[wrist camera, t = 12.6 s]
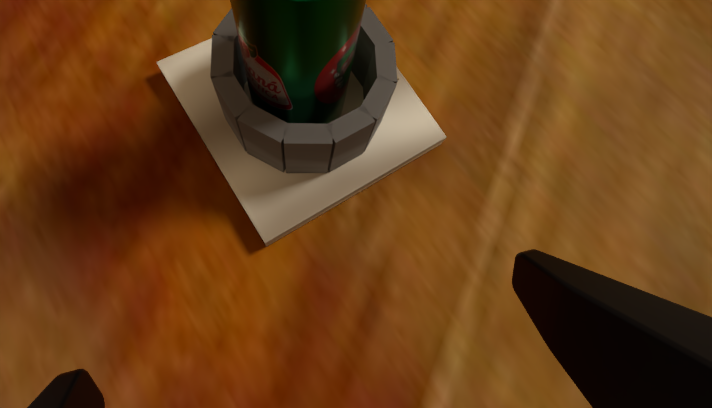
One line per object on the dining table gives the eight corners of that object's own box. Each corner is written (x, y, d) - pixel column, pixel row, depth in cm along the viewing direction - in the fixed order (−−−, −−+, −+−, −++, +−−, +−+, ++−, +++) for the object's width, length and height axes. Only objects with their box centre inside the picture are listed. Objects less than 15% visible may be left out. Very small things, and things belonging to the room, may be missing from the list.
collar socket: (441, 143, 25) (474, 103, 21) (266, 246, 22) (258, 226, 18) (336, -5, 27) (344, -73, 22) (162, 72, 24) (128, 11, 19)
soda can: (238, 81, 24) (181, -144, 12) (319, 53, 25) (338, -176, 13) (275, 158, 23) (251, -7, 11) (357, 125, 24) (412, -55, 12)
